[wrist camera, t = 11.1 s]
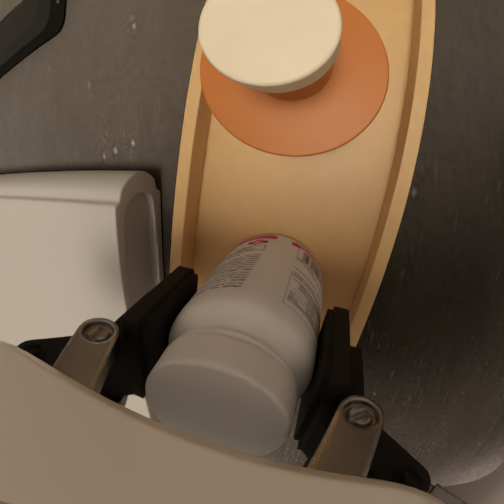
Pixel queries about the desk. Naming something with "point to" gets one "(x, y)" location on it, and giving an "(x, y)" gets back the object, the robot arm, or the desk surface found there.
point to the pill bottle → (243, 348)
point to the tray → (312, 177)
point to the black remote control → (28, 29)
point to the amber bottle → (291, 72)
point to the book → (76, 252)
